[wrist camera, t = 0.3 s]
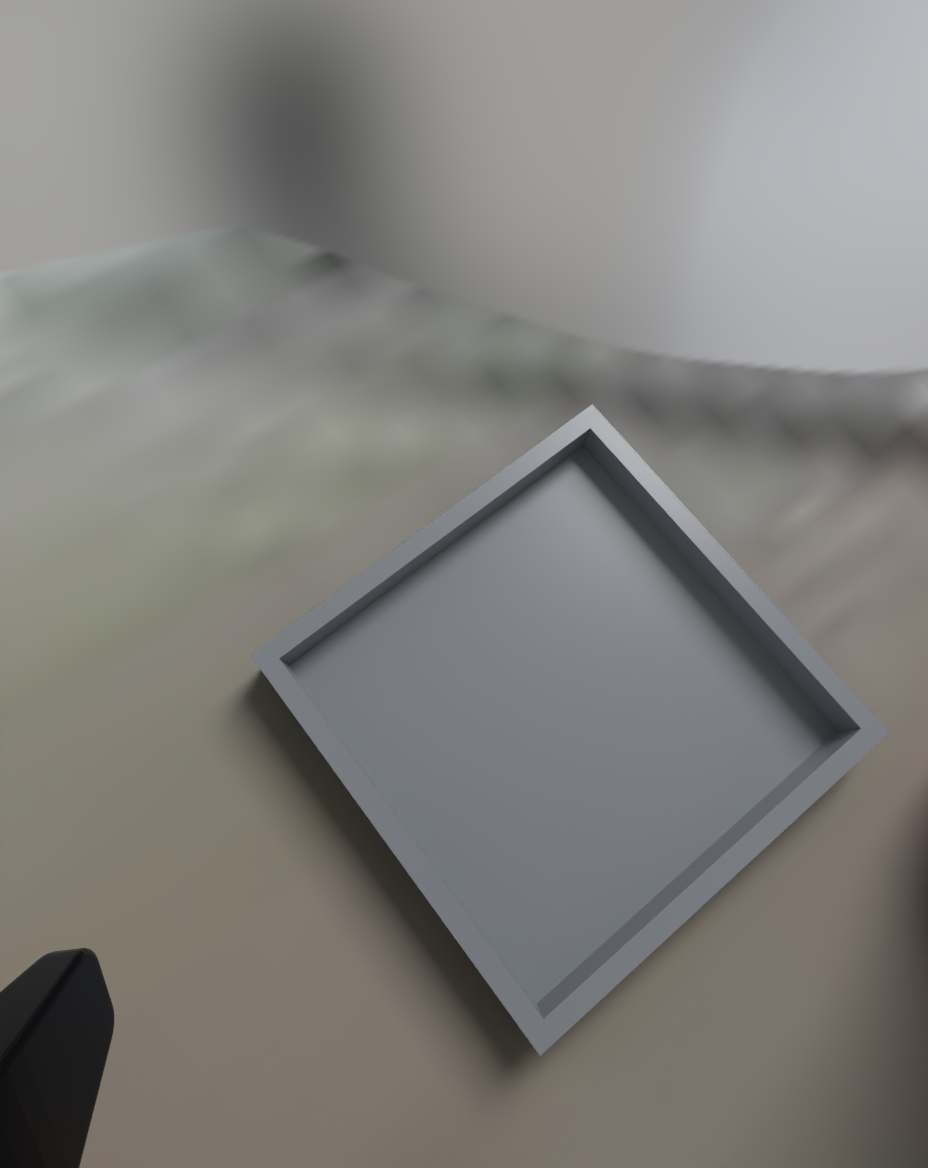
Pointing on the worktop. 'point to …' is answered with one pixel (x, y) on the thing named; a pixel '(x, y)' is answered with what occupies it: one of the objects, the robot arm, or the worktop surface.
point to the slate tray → (567, 718)
